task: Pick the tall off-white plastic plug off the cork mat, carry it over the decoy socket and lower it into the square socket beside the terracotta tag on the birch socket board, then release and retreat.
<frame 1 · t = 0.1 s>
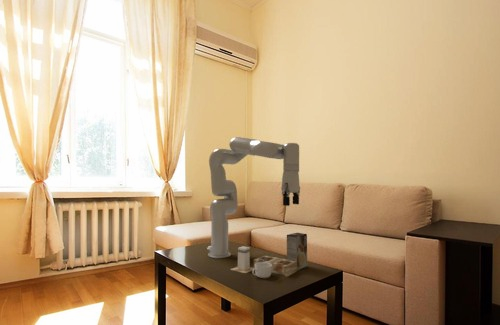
hand: (291, 204, 138), 31 cm above the table, fingers open, 9 cm apart
socket board: (275, 270, 138), on the table
coffee box: (296, 267, 143), on the table
teacup: (261, 277, 128), on the table
plug: (243, 268, 138), resting on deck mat
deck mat: (243, 270, 138), on the table
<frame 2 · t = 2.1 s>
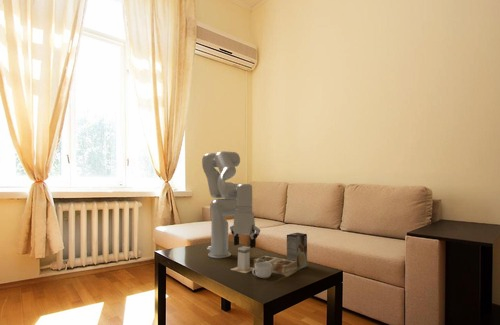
hand: (244, 246, 138), 11 cm above the table, fingers open, 9 cm apart
nothing on the table moved.
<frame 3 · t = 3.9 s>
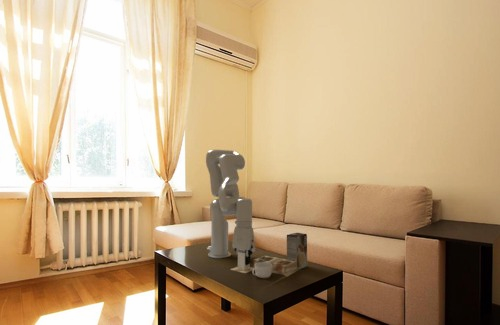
hand: (243, 262, 138), 3 cm above the table, fingers closed on plug, 4 cm apart
plug: (243, 268, 138), point 1 cm above the table, touching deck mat, gripper
everything else where it was.
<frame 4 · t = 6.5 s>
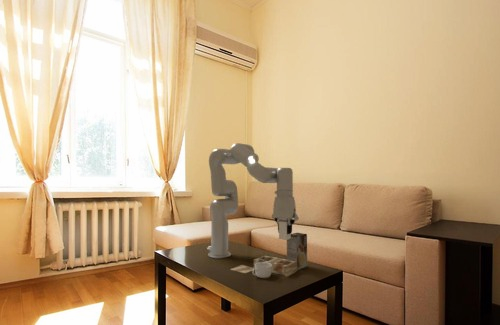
hand: (284, 232, 136), 18 cm above the table, fingers closed on plug, 4 cm apart
plug: (284, 238, 136), point 15 cm above the table, touching gripper
everything else where it was.
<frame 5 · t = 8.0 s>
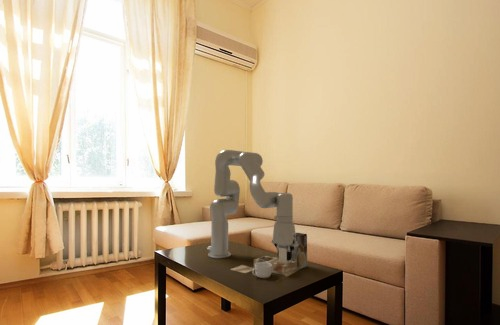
hand: (284, 258, 135), 6 cm above the table, fingers closed on plug, 4 cm apart
plug: (284, 264, 135), point 3 cm above the table, touching gripper
everything else where it was.
when the fingers open (5 cm above the table, at t = 9.2 s): plug stays where it is, resting on socket board.
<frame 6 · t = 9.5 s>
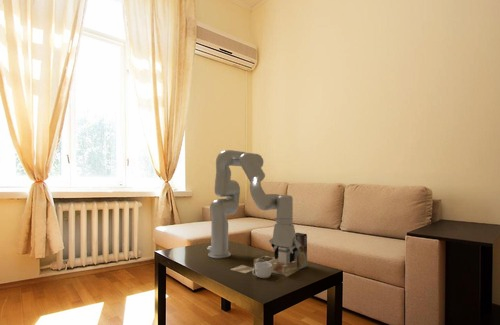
hand: (284, 259, 135), 6 cm above the table, fingers open, 7 cm apart
plug: (284, 268, 135), point 2 cm above the table, touching socket board
everything else where it was.
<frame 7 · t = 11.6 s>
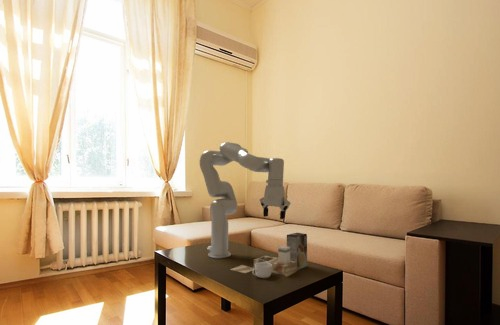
hand: (273, 217, 144), 24 cm above the table, fingers open, 9 cm apart
nothing on the table moved.
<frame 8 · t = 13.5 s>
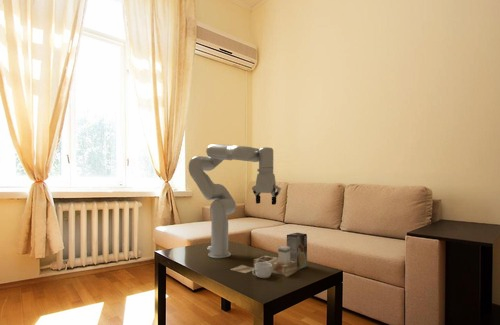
hand: (265, 203, 151), 30 cm above the table, fingers open, 9 cm apart
nothing on the table moved.
at the end: plug 0.0 cm from the target spot on the socket board, point 1.6 cm above the socket board's base; plug tilted 0°; the gripper is holding nothing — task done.
